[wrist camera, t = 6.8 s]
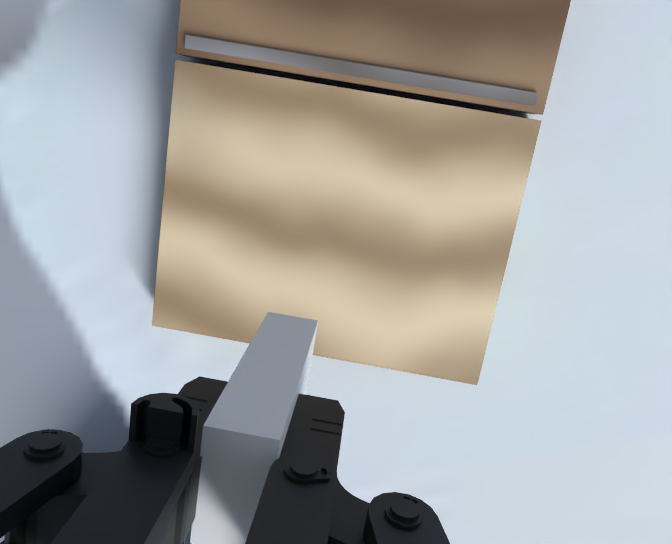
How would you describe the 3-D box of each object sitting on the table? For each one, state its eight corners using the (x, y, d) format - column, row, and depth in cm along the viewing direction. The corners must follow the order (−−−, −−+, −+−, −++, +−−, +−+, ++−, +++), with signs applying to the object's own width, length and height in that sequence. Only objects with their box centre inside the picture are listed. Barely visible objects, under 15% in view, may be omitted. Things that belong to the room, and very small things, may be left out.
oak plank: (188, 63, 32) (175, 59, 30) (531, 120, 31) (541, 120, 29) (164, 314, 35) (151, 325, 33) (472, 370, 35) (477, 385, 33)
